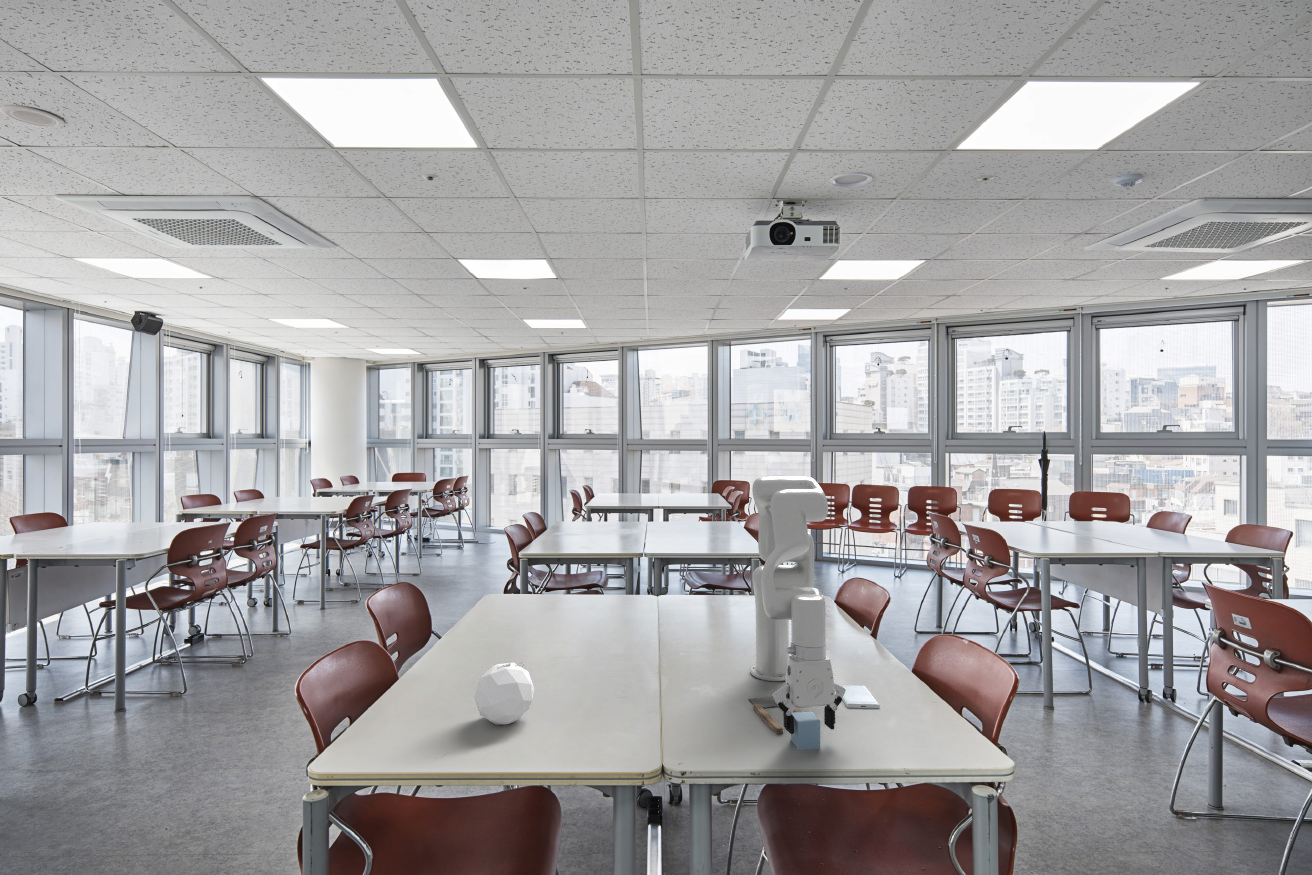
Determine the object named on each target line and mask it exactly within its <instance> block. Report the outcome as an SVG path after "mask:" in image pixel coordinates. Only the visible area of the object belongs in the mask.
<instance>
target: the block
mask: <svg viewBox="0 0 1312 875" xmlns="http://www.w3.org/2000/svg"><path fill="white" fill-rule="evenodd" d="M792 715H793V716H794V733H793V734H790V740H791V741H792V743H793V745H794V746H795V748H796V749H797V750H798V751H799V750H800V751H801V750H802V751H803V750H818V749H819V750H820V749H821V721H820V719H819V718H818V717H817V716H816V714H815V713H814V712H813V711H802V712H792Z"/></svg>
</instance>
